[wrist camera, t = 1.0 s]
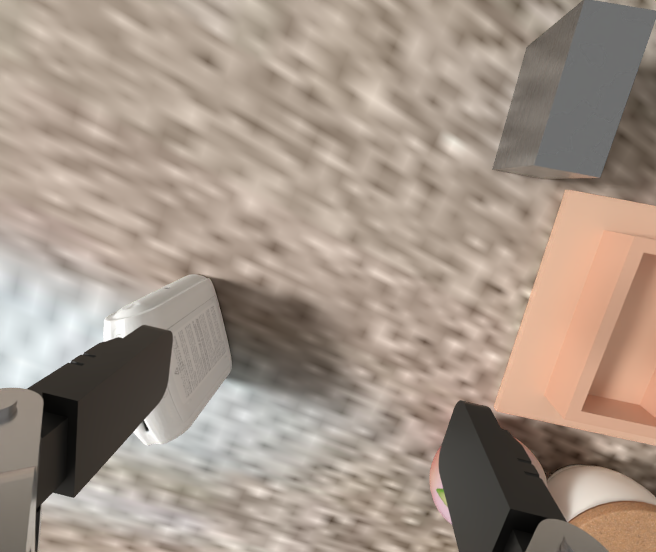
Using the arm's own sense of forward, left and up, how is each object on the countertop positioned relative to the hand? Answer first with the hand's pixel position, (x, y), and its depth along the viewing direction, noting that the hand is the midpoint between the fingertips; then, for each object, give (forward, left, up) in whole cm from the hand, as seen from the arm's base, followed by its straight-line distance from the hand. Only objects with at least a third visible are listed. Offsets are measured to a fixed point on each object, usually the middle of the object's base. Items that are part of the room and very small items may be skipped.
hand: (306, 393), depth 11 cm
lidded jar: (+19, +26, -24) cm, 40 cm away
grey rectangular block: (-13, +12, -24) cm, 30 cm away
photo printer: (+10, -12, -24) cm, 29 cm away
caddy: (+2, +24, -24) cm, 34 cm away
